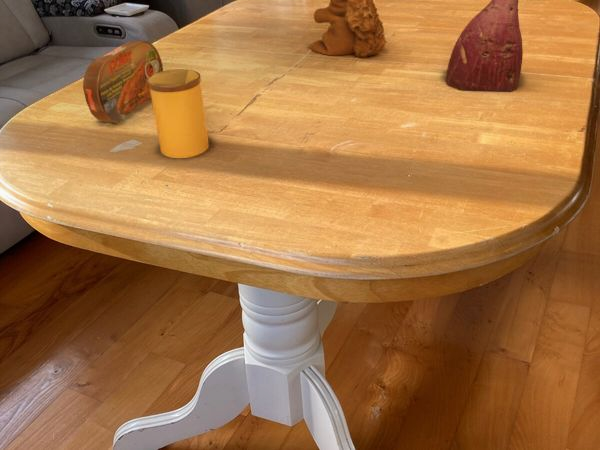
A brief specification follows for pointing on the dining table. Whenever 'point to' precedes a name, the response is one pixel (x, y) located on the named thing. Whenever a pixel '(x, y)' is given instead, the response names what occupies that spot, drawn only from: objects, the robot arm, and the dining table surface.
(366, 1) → the stuffed squirrel
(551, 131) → the dining table surface
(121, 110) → the tin
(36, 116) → the dining table surface
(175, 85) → the yellow canister
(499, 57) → the vegetable
